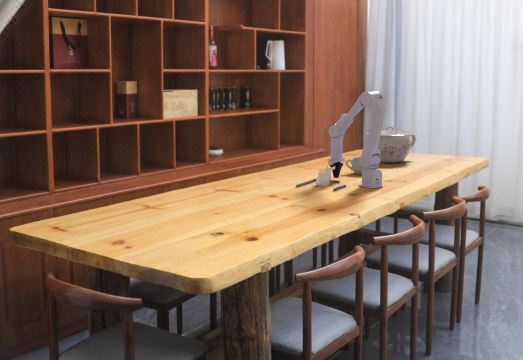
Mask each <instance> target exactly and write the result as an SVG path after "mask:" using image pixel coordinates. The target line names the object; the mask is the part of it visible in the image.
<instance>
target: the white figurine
mask: <svg viewBox="0 0 523 360" xmlns="http://www.w3.org/2000/svg"><path fill="white" fill-rule="evenodd" d="M328 166H329V165H326V168H324V169H323V170H322V169H321V168H320V169H319V171H318V176H317V177H316V178H315V179H316V182H315V185H316V186H318V187H327V186H328V185H329V184H330V183H331V182H329V181H330V180H332V175H331V174H332V170H335V166H334V167H332V168H331V167H330V168H329V167H328ZM329 186H330V185H329ZM329 186H328V187H329Z"/></svg>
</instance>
